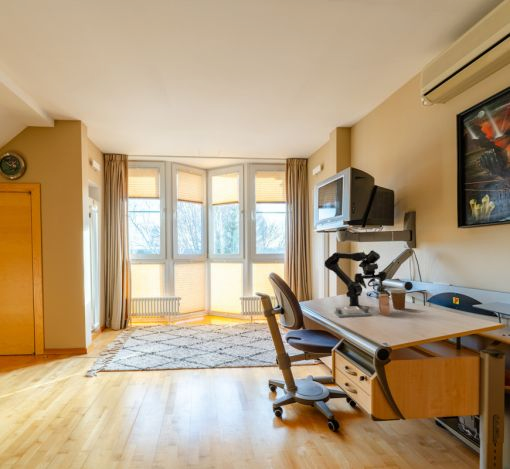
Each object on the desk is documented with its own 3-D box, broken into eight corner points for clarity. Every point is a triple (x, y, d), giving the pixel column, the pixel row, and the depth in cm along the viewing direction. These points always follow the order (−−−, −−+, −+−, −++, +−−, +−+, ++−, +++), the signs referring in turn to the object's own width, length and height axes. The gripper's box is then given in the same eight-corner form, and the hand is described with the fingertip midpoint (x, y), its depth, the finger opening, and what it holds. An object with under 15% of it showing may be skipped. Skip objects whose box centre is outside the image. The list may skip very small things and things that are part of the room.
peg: (379, 313, 204) (378, 294, 205) (387, 313, 204) (386, 294, 204) (382, 315, 200) (380, 295, 200) (390, 314, 200) (388, 295, 200)
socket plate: (334, 312, 215) (334, 306, 215) (364, 311, 214) (364, 305, 214) (338, 317, 201) (338, 310, 201) (371, 315, 200) (370, 309, 200)
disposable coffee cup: (408, 310, 210) (406, 289, 210) (391, 310, 213) (389, 290, 213) (407, 307, 219) (405, 287, 219) (390, 307, 222) (389, 287, 222)
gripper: (353, 260, 219) (359, 279, 207) (384, 258, 218) (392, 277, 207) (351, 272, 226) (357, 291, 215) (381, 270, 226) (388, 289, 214)
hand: (373, 287), depth 212 cm, fingers open, 9 cm apart
